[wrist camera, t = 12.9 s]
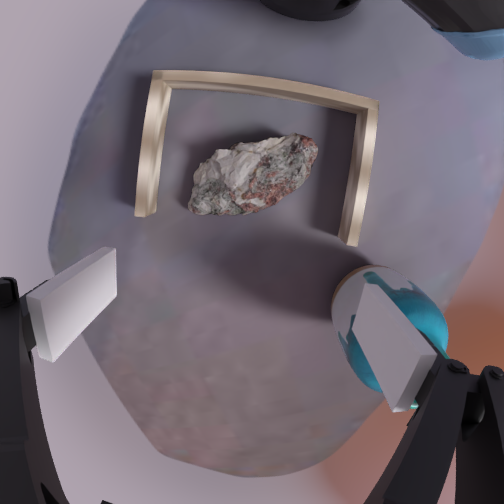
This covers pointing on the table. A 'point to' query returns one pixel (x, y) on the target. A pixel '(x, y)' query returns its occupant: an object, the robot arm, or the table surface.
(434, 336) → the vase
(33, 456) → the robot arm
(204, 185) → the mineral rock
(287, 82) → the u-shaped wooden frame
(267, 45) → the table surface
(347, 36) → the table surface
